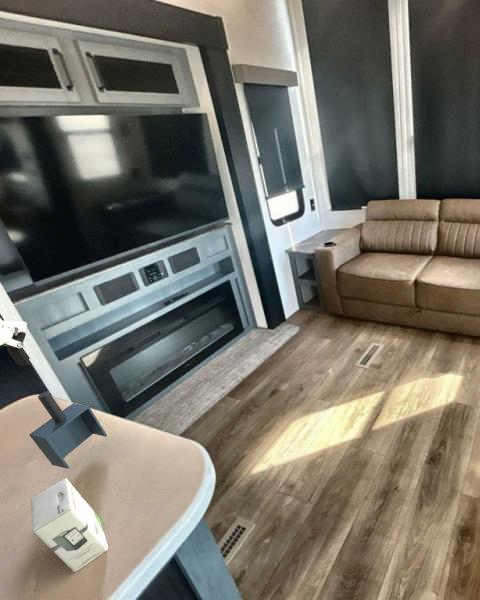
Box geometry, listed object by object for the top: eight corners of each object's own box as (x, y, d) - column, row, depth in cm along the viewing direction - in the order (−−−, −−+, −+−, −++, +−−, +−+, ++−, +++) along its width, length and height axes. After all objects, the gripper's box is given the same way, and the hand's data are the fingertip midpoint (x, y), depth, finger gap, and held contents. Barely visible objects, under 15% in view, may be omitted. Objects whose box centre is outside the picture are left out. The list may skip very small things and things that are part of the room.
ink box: (67, 538, 64) (28, 496, 59) (101, 516, 67) (66, 475, 62) (73, 574, 59) (30, 532, 53) (109, 549, 61) (72, 507, 56)
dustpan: (9, 409, 68) (25, 412, 67) (57, 378, 76) (73, 381, 75) (52, 465, 76) (68, 469, 75) (93, 432, 84) (107, 436, 83)
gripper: (-15, 279, 73) (36, 350, 81) (-147, 326, 58) (-69, 407, 66) (10, 280, 71) (59, 353, 79) (-121, 328, 56) (-43, 412, 64)
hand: (1, 377), depth 72 cm, fingers open, 7 cm apart
